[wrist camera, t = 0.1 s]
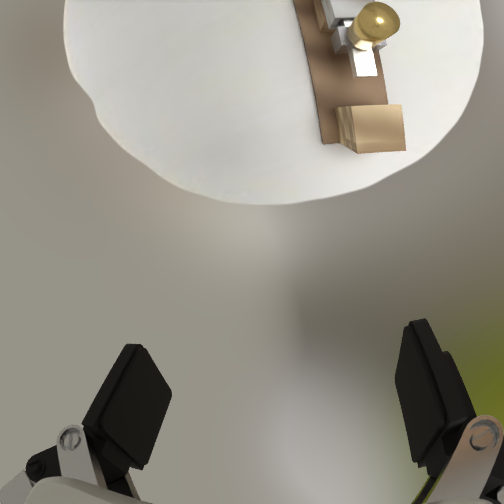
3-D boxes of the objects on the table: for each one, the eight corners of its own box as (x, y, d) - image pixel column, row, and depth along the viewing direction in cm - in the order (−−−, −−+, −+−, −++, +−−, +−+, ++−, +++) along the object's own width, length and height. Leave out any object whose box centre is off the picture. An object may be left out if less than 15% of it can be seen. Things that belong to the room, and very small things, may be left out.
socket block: (334, 107, 31) (351, 106, 23) (373, 105, 30) (401, 104, 22) (339, 142, 33) (357, 153, 25) (377, 139, 32) (405, 150, 24)
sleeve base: (288, -19, 24) (287, -57, 15) (354, -21, 23) (373, -56, 13) (322, 143, 35) (335, 155, 25) (388, 138, 33) (422, 149, 24)
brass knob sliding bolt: (311, -31, 19) (318, -78, 10) (349, -32, 18) (370, -75, 9) (340, 79, 25) (364, 65, 16) (378, 78, 25) (418, 67, 15)
